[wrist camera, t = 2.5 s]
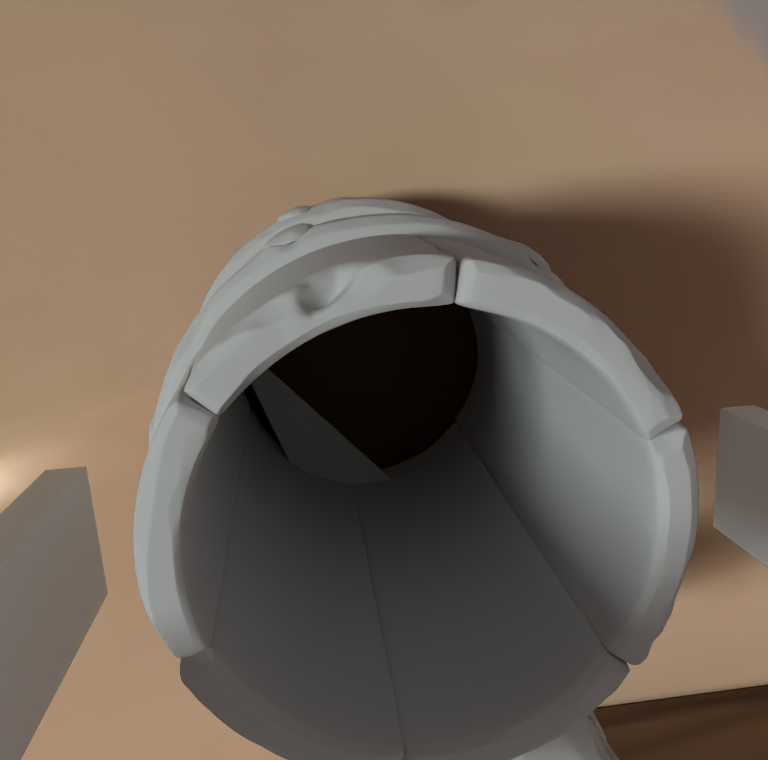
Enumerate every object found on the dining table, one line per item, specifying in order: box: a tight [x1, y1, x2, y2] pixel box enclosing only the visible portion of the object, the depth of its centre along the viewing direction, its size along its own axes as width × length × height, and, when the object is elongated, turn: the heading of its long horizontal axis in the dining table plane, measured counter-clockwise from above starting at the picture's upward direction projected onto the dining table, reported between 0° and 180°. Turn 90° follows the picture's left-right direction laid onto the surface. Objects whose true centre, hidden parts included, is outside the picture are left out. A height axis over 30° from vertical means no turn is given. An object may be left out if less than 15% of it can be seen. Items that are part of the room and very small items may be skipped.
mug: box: [134, 197, 698, 760], centre depth 12 cm, size 8×12×12 cm, turn 28°
